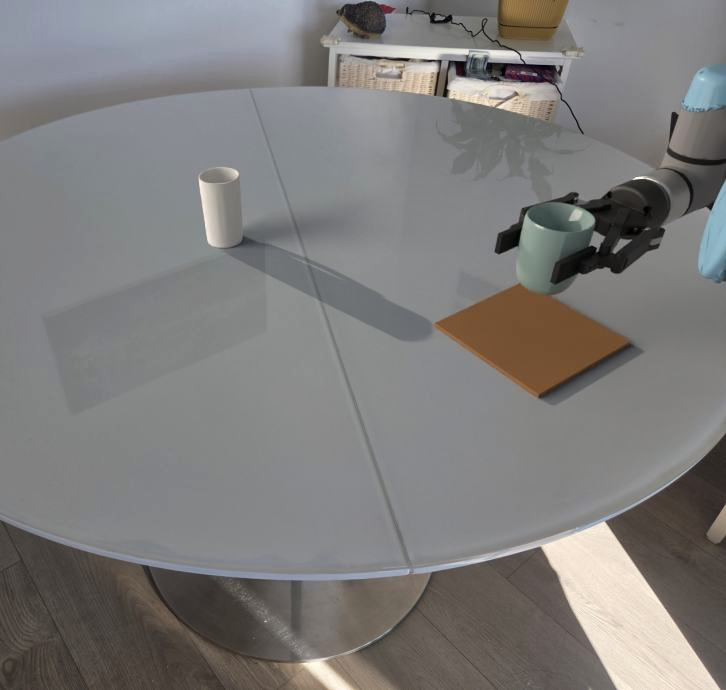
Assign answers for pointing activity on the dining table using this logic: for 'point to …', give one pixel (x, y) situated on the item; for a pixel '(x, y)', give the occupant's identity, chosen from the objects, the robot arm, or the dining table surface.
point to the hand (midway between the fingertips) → (525, 258)
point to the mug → (221, 206)
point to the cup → (551, 244)
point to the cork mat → (531, 338)
